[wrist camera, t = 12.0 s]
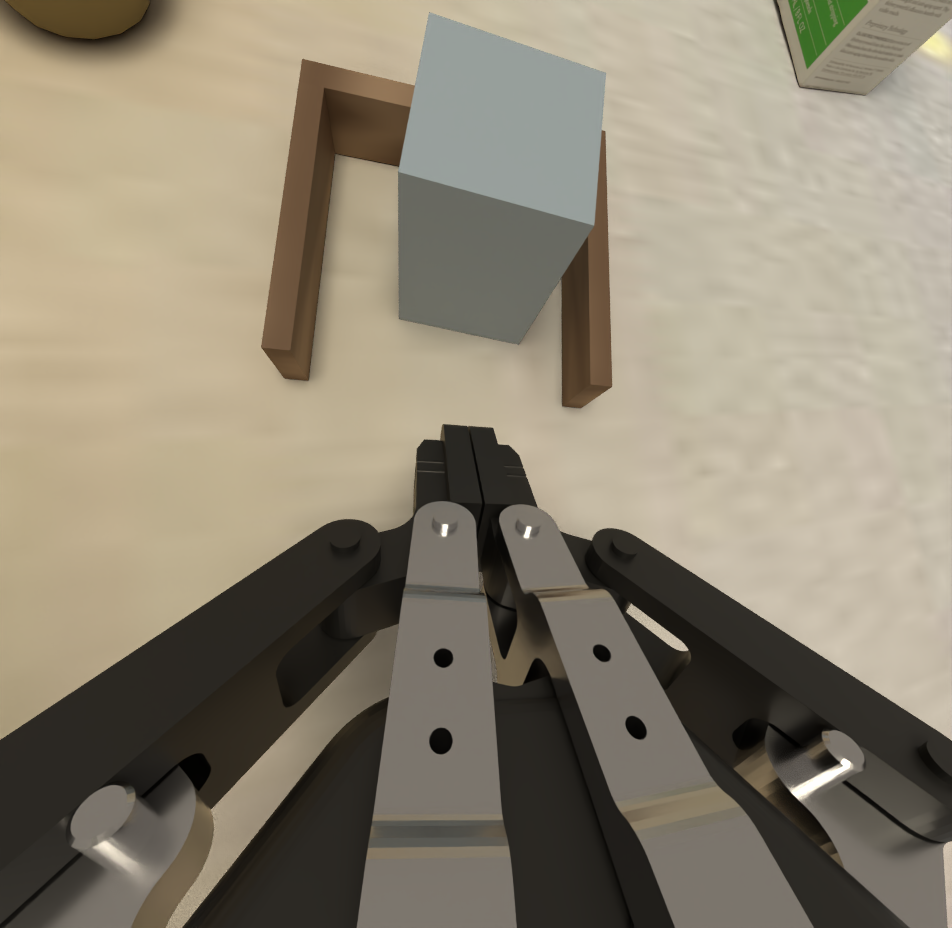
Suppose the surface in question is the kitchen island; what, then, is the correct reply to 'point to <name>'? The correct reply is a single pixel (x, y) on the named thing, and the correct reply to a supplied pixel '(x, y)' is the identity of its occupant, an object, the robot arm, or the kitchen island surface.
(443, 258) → the slate block
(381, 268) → the kitchen island surface
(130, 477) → the kitchen island surface
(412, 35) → the kitchen island surface
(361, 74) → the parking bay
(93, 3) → the squeeze bottle
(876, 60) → the skincare box
